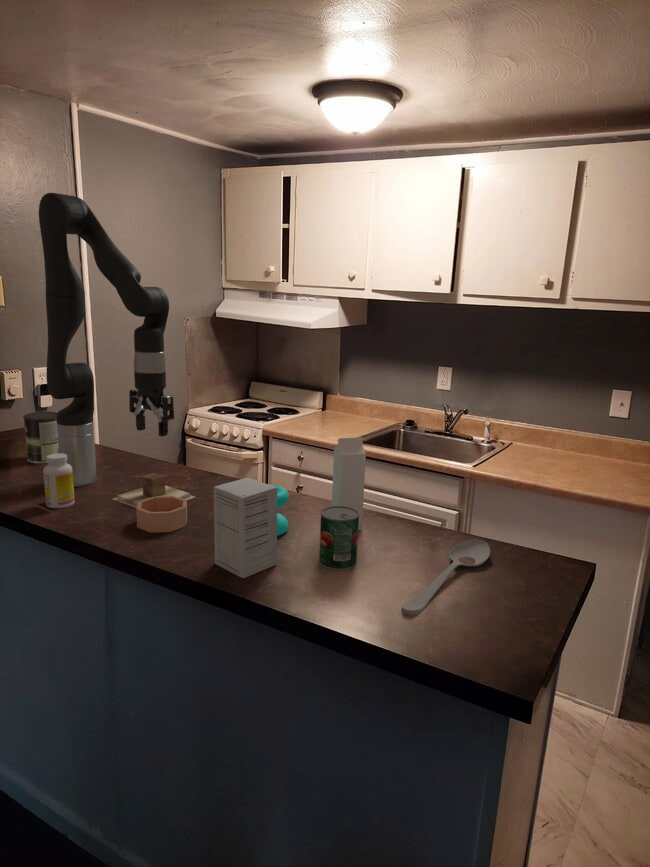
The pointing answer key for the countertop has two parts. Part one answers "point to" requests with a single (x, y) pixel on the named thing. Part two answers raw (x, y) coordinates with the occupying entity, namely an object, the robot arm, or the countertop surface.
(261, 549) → the supplement box
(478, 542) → the spoon
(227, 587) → the countertop surface
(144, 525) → the bowl
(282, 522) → the donuts
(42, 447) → the coffee can
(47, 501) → the supplement bottle
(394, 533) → the countertop surface
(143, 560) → the countertop surface
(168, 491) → the lid
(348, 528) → the canned tomato
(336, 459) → the milk
